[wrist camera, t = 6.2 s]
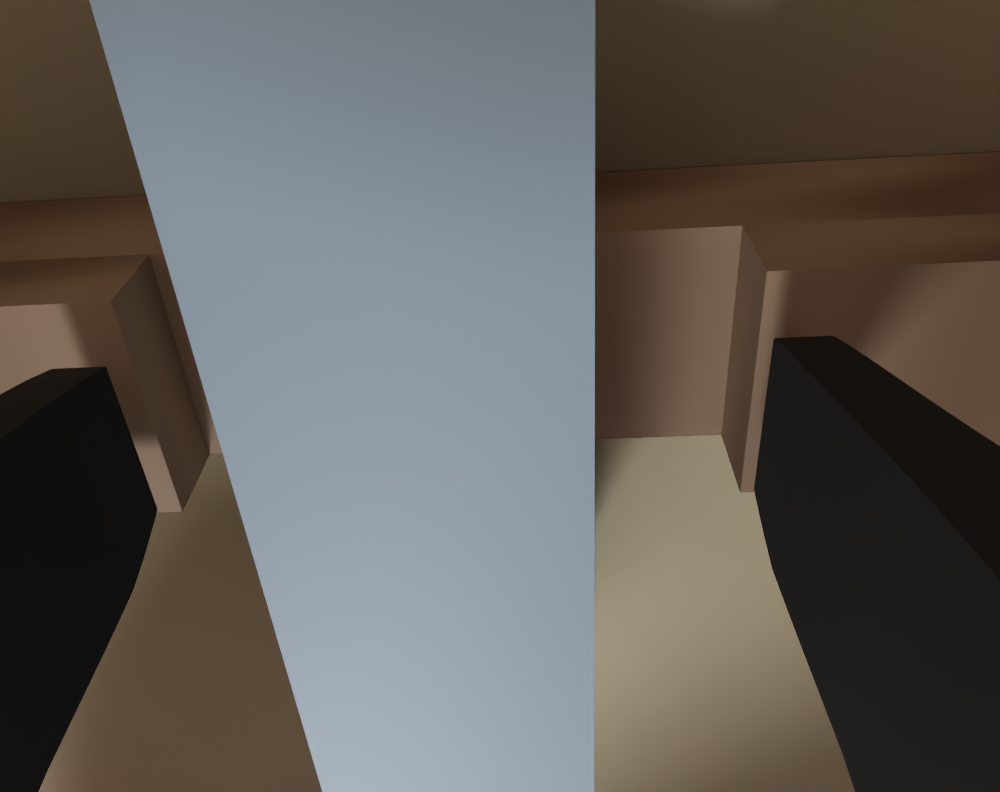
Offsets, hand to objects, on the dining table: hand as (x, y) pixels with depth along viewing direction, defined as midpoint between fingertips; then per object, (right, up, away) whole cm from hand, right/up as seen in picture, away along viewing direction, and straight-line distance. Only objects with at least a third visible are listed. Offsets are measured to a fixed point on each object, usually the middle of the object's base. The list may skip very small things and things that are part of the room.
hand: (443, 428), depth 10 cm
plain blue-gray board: (0, +2, +3) cm, 4 cm away
